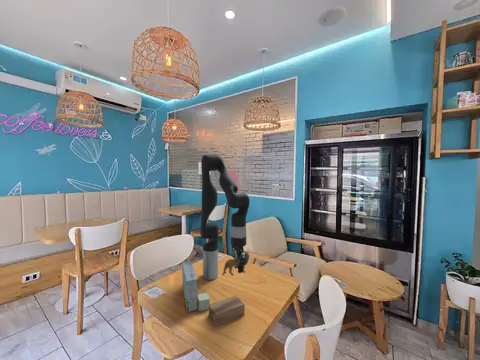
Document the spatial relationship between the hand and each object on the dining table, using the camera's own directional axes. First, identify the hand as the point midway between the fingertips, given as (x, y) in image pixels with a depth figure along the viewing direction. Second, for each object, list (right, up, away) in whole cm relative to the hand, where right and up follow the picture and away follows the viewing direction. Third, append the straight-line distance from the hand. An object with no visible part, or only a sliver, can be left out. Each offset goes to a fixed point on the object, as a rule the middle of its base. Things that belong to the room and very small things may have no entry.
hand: (238, 270), depth 100 cm
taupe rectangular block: (-5, -18, -6) cm, 20 cm away
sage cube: (-17, -18, 0) cm, 24 cm away
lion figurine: (-1, -1, 0) cm, 1 cm away
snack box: (-25, -17, +6) cm, 31 cm away
